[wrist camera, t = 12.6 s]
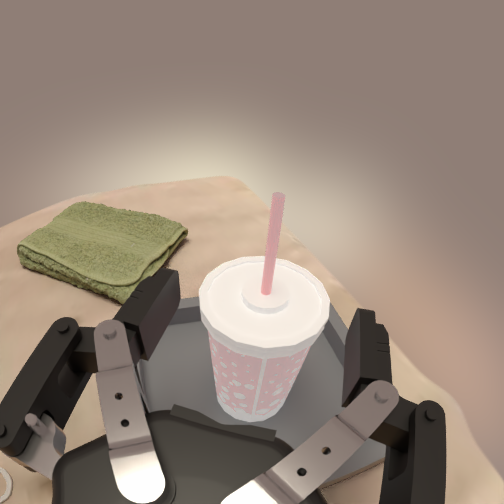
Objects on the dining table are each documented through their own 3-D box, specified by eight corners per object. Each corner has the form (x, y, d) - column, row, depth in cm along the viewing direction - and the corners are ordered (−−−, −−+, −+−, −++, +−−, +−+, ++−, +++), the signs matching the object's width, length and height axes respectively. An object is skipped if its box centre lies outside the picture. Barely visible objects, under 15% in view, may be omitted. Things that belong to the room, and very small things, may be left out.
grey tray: (129, 327, 24) (123, 305, 23) (309, 300, 29) (315, 279, 27) (155, 525, 12) (145, 521, 11) (398, 453, 17) (416, 439, 15)
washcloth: (134, 317, 26) (127, 289, 24) (15, 268, 29) (6, 244, 27) (193, 238, 36) (193, 214, 35) (80, 213, 40) (76, 192, 38)
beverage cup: (294, 358, 22) (340, 174, 14) (298, 433, 17) (380, 248, 9) (209, 352, 22) (208, 161, 14) (199, 428, 17) (178, 232, 9)
